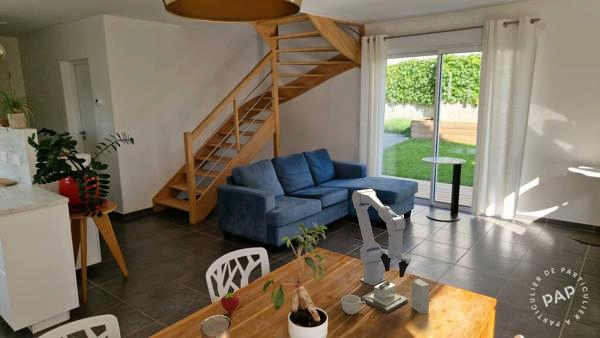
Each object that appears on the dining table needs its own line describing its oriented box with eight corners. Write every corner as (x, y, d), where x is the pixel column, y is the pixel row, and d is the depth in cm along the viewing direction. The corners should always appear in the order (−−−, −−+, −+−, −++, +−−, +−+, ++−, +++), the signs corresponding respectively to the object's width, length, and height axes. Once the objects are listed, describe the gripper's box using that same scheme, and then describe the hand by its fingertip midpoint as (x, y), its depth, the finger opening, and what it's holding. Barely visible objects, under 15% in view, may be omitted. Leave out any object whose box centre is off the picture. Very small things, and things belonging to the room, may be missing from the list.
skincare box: (429, 312, 157) (430, 284, 155) (420, 314, 156) (422, 286, 153) (418, 305, 163) (419, 278, 161) (410, 307, 161) (411, 280, 159)
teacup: (342, 316, 155) (342, 304, 154) (340, 306, 162) (340, 294, 161) (367, 316, 155) (367, 304, 154) (364, 306, 162) (364, 294, 161)
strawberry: (237, 318, 154) (236, 294, 153) (219, 317, 155) (218, 293, 154) (241, 310, 160) (240, 287, 159) (223, 309, 161) (222, 286, 159)
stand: (381, 290, 176) (381, 285, 176) (407, 301, 166) (407, 297, 165) (361, 300, 167) (361, 295, 167) (387, 313, 157) (387, 308, 156)
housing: (373, 297, 165) (374, 285, 165) (385, 291, 171) (385, 279, 170) (383, 302, 162) (383, 289, 161) (394, 295, 167) (395, 283, 166)
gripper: (376, 241, 170) (375, 271, 172) (404, 251, 159) (402, 282, 161) (386, 238, 174) (385, 266, 176) (414, 247, 163) (412, 277, 165)
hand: (394, 273), depth 169 cm, fingers open, 7 cm apart
